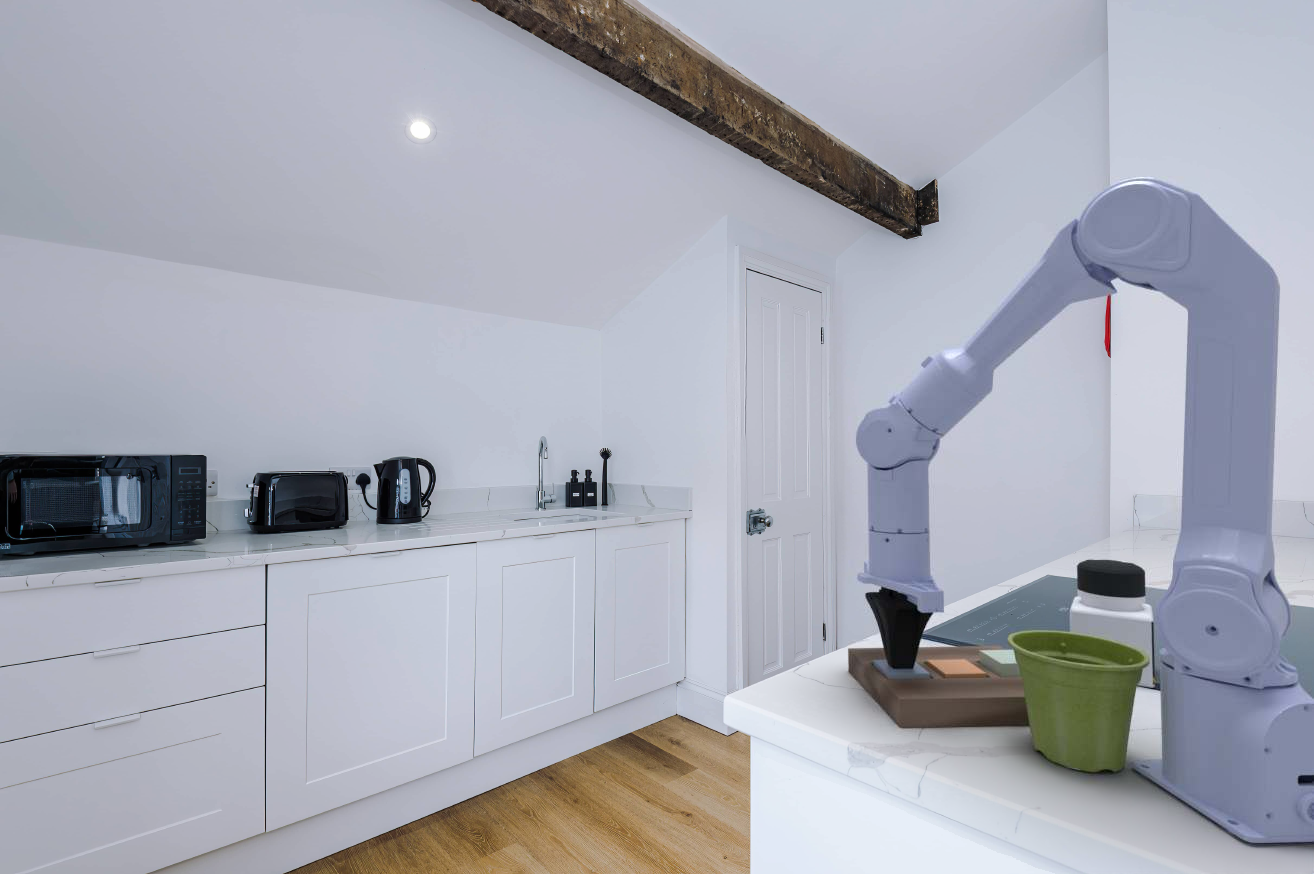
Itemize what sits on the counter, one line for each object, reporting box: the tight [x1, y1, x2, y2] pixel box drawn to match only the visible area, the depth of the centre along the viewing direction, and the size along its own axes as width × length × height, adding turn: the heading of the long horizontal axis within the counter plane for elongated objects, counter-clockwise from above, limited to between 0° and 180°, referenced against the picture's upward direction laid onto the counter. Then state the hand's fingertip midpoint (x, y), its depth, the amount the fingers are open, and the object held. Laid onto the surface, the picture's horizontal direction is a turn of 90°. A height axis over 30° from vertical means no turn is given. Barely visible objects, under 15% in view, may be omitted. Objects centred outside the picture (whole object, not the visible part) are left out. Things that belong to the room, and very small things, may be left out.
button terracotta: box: [927, 659, 987, 678], centre depth 62 cm, size 4×4×2 cm
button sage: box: [979, 649, 1021, 677], centre depth 62 cm, size 4×4×2 cm
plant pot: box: [1007, 629, 1150, 773], centre depth 50 cm, size 9×9×9 cm
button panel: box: [847, 645, 1030, 729], centre depth 62 cm, size 14×17×2 cm
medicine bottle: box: [1069, 558, 1156, 689], centre depth 68 cm, size 7×7×12 cm
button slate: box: [874, 660, 930, 679], centre depth 62 cm, size 4×4×2 cm
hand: (900, 666), depth 62 cm, fingers closed, pressing on button slate
